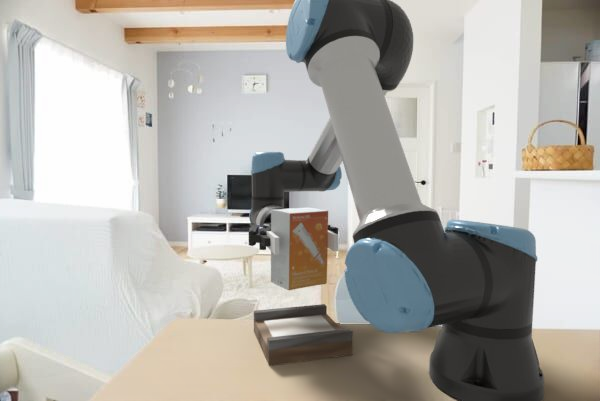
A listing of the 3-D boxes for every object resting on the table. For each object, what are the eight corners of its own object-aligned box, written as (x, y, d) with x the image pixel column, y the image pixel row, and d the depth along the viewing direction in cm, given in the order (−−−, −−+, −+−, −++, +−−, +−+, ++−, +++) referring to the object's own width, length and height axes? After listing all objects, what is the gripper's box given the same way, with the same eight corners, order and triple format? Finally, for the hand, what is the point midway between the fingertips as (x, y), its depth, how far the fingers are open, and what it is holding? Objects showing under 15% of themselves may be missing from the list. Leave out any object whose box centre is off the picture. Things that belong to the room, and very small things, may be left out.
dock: (352, 354, 69) (352, 331, 69) (269, 365, 66) (268, 340, 65) (324, 323, 83) (324, 304, 83) (253, 331, 79) (253, 310, 79)
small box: (289, 291, 69) (289, 212, 68) (269, 282, 74) (269, 209, 73) (328, 284, 73) (329, 209, 72) (307, 275, 79) (308, 206, 78)
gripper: (325, 239, 93) (368, 263, 72) (224, 244, 87) (239, 271, 66) (325, 205, 93) (369, 219, 71) (224, 208, 87) (239, 224, 65)
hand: (307, 244), depth 69 cm, fingers closed on small box, 9 cm apart
